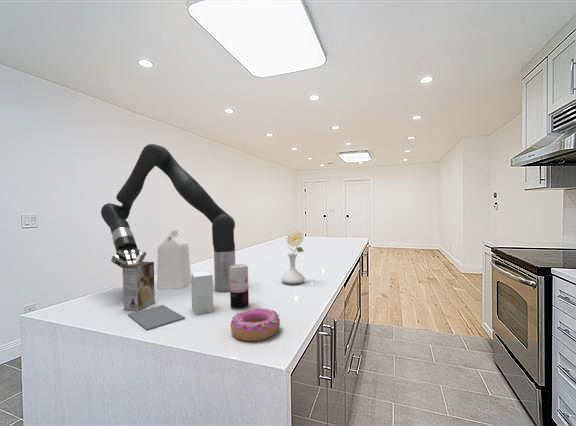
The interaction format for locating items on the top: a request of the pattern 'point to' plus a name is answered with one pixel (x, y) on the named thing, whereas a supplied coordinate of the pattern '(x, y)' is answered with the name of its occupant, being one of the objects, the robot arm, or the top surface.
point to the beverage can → (239, 286)
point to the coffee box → (138, 285)
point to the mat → (155, 317)
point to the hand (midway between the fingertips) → (135, 274)
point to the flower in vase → (293, 259)
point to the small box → (202, 292)
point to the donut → (255, 324)
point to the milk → (173, 263)
